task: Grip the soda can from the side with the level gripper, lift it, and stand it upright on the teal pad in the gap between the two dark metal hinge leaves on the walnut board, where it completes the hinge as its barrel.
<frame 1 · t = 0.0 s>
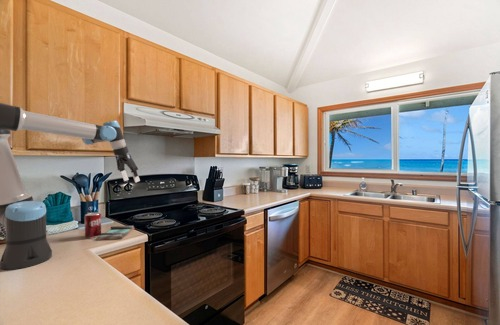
hand: (131, 181, 140), 28 cm above the counter, tool tilted 20°, fingers open, 13 cm apart
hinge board: (116, 234, 126), on the counter
soda can: (93, 236, 123), on the counter
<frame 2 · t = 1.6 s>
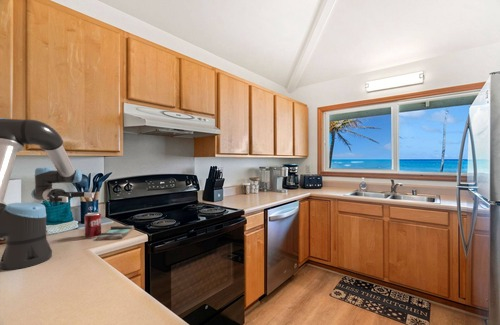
hand: (80, 197, 125), 20 cm above the counter, tool horizontal, fingers open, 13 cm apart
nothing on the counter moved.
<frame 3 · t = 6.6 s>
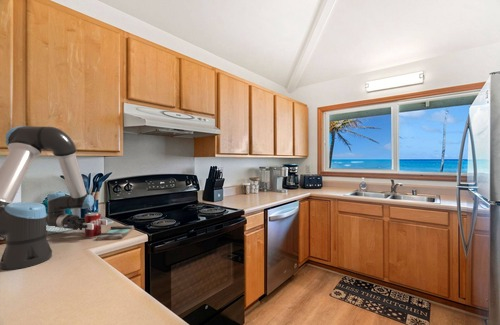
hand: (100, 224, 121), 7 cm above the counter, tool horizontal, fingers closed on soda can, 7 cm apart
soda can: (93, 236, 123), on the counter, touching gripper
when the fingers open (9 cm above the counter, at t = 12.0 s): soda can drops 1 cm, resting on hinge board.
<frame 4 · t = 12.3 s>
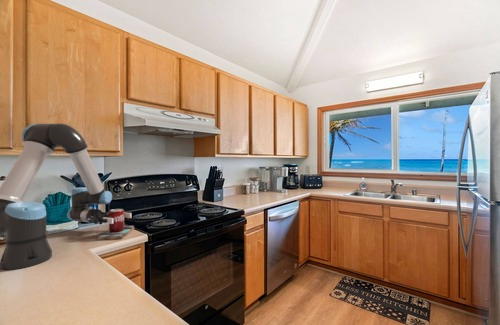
hand: (122, 218, 125), 9 cm above the counter, tool horizontal, fingers open, 11 cm apart
soda can: (116, 232, 126), point 1 cm above the counter, touching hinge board
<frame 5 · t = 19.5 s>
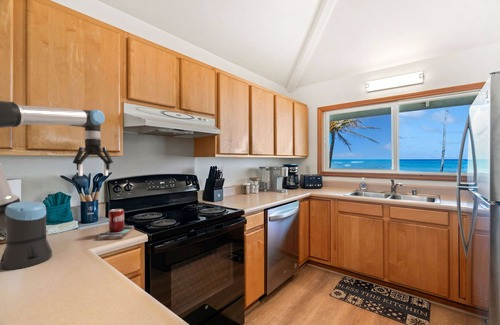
hand: (93, 175, 133), 32 cm above the counter, tool pointing down, fingers open, 13 cm apart
nothing on the counter moved.
at the end: soda can 0.1 cm off-centre on the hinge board, point 1.0 cm above the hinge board's base; soda can tilted 0°; the gripper is holding nothing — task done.
